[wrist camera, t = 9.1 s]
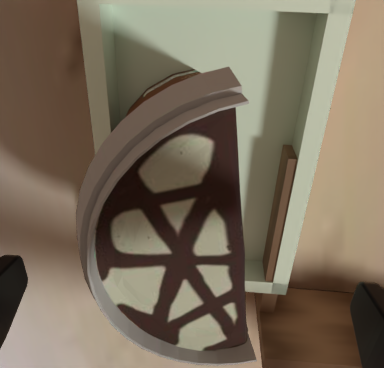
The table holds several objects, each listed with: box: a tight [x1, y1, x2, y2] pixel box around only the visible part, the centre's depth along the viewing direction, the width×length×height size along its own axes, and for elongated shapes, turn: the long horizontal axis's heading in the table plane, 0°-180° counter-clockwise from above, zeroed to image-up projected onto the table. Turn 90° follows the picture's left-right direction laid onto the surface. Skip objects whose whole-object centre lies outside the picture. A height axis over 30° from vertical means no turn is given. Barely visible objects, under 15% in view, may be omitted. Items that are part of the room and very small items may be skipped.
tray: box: [77, 0, 356, 295], centre depth 20 cm, size 12×18×3 cm, turn 178°
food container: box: [76, 67, 257, 366], centre depth 16 cm, size 12×6×10 cm, turn 6°
